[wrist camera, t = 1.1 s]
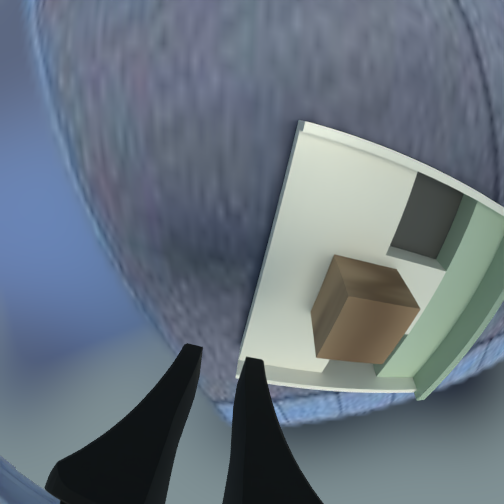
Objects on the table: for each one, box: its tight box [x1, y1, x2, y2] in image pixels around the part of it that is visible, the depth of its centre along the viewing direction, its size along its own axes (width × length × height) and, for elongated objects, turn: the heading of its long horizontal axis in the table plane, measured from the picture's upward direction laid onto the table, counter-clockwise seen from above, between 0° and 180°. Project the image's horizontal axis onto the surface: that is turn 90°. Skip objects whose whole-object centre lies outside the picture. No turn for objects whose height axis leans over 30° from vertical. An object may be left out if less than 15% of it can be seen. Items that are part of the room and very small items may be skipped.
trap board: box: [236, 120, 504, 400], centre depth 17 cm, size 18×18×4 cm
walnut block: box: [310, 254, 420, 364], centre depth 15 cm, size 4×4×4 cm
